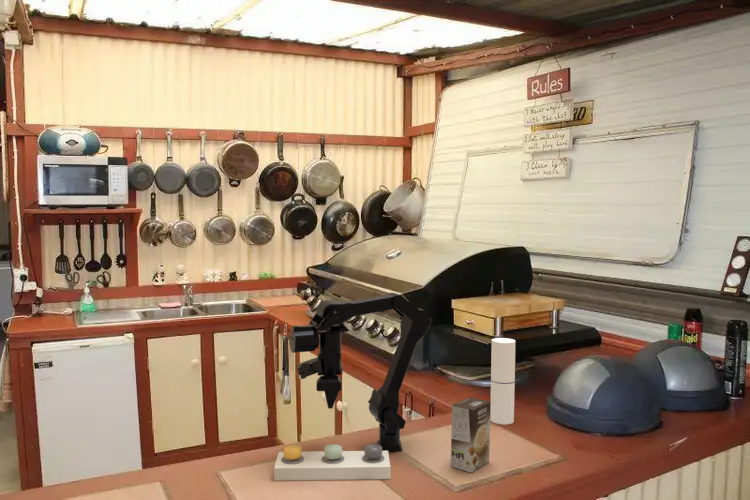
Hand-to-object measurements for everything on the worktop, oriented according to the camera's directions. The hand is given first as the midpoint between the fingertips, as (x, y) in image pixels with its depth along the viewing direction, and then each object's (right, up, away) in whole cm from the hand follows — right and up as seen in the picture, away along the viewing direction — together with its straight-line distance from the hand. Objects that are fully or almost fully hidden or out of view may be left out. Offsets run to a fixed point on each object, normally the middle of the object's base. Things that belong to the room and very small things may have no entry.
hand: (330, 408), depth 162 cm
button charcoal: (+11, -10, -8) cm, 17 cm away
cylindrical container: (+51, -11, +29) cm, 60 cm away
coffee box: (+36, -14, -4) cm, 39 cm away
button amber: (-9, -10, -9) cm, 16 cm away
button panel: (+1, -14, -8) cm, 16 cm away
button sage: (+1, -10, -8) cm, 13 cm away
